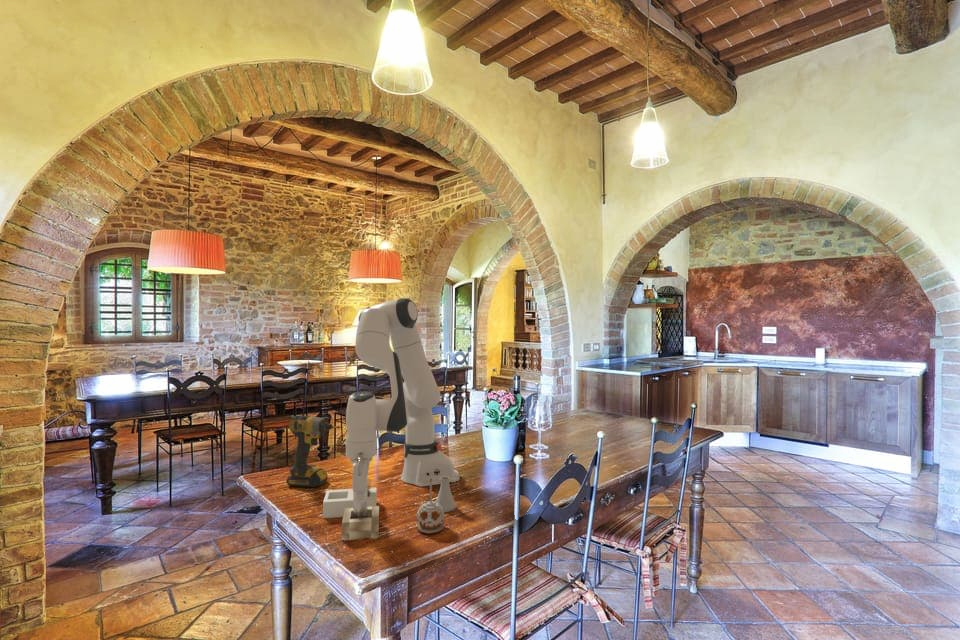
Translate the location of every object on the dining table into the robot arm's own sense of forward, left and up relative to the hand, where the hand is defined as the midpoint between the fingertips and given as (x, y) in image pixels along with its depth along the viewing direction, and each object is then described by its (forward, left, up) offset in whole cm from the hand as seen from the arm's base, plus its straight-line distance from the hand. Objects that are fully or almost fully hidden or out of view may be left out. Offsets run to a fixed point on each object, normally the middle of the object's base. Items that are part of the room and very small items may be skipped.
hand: (361, 496), depth 137 cm
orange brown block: (0, -16, -9) cm, 18 cm away
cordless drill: (+19, -42, -10) cm, 47 cm away
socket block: (+4, -16, -10) cm, 19 cm away
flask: (-26, -12, -10) cm, 31 cm away
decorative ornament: (-20, +2, -10) cm, 23 cm away
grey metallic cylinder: (0, 0, -8) cm, 8 cm away
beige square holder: (0, 0, -10) cm, 10 cm away
